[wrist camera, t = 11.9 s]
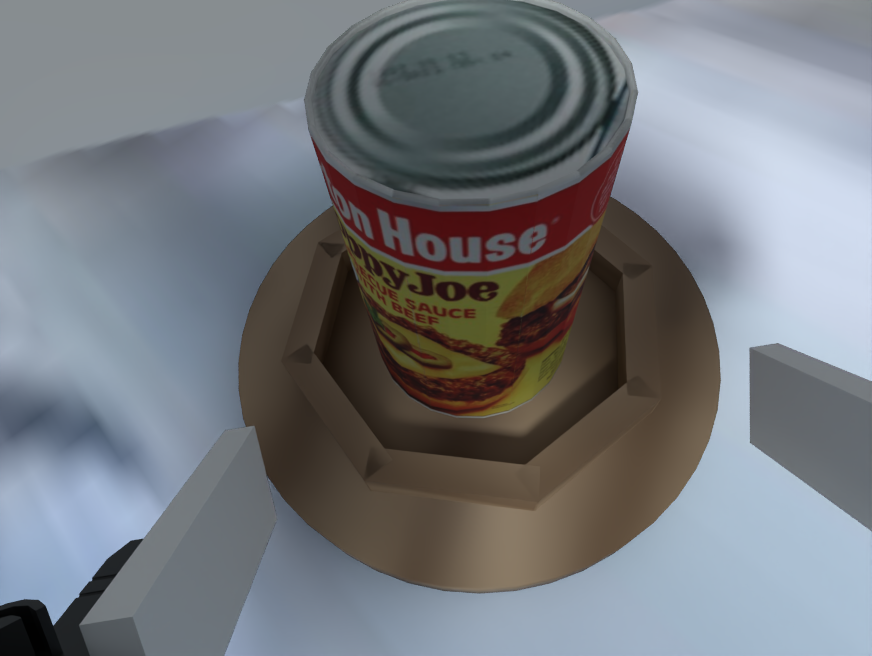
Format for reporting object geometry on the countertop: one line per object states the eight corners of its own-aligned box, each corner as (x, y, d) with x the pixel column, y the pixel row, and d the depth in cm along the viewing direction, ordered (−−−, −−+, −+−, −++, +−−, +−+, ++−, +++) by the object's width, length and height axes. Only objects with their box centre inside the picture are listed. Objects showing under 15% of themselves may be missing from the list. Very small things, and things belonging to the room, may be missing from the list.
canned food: (341, 350, 23) (235, 112, 13) (452, 231, 26) (437, -41, 16) (495, 458, 21) (514, 265, 10) (600, 312, 24) (697, 48, 13)
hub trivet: (189, 553, 22) (144, 538, 19) (315, 180, 31) (298, 132, 29) (730, 632, 19) (776, 629, 16) (682, 200, 29) (705, 150, 26)
